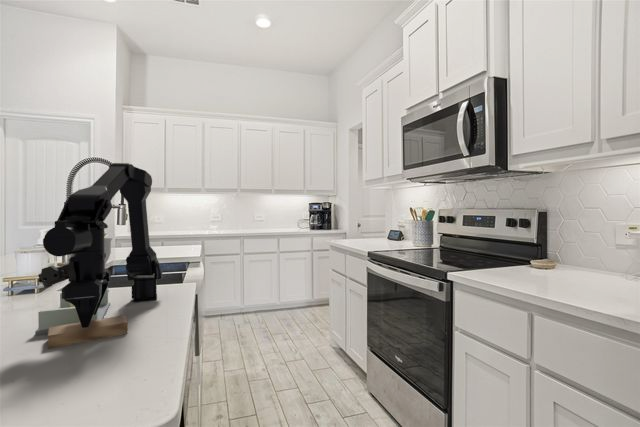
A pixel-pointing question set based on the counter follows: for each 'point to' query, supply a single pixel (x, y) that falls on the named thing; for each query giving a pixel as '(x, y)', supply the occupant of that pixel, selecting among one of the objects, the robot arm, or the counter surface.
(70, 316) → the peg cradle
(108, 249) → the chalice
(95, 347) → the counter surface
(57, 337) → the shelf board
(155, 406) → the counter surface
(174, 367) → the counter surface
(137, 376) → the counter surface
